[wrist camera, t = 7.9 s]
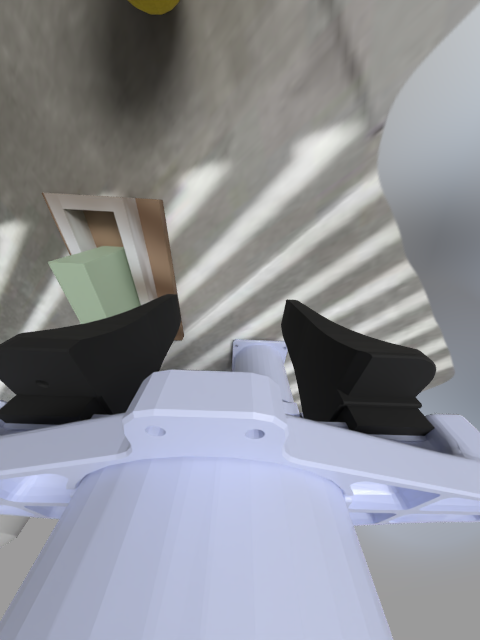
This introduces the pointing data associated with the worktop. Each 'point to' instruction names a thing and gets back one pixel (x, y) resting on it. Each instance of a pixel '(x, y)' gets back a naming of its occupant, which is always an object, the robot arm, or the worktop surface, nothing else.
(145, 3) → the lemon
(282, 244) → the worktop surface
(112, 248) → the pale green rectangular block
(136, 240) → the track base
